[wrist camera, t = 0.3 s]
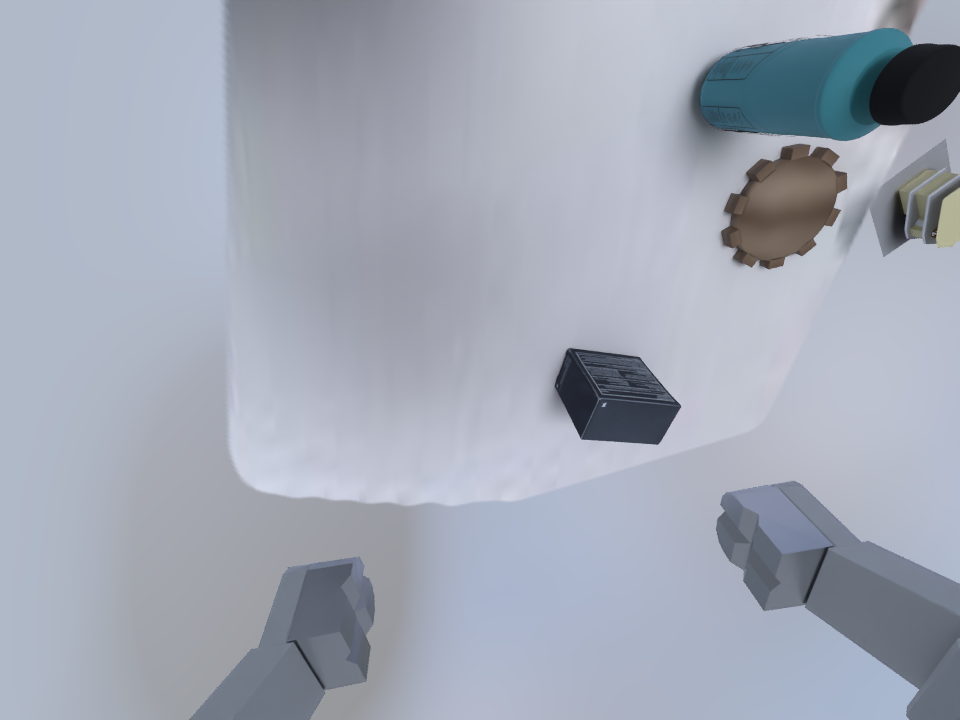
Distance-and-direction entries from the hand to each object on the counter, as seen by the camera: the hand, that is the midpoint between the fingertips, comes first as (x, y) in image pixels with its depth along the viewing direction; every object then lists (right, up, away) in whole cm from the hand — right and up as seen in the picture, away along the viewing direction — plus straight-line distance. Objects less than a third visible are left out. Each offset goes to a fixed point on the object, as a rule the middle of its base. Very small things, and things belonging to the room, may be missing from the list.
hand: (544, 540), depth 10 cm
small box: (+14, +2, +48) cm, 50 cm away
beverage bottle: (+22, +30, +32) cm, 49 cm away
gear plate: (+32, +21, +39) cm, 55 cm away
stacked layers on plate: (+50, +23, +41) cm, 68 cm away
